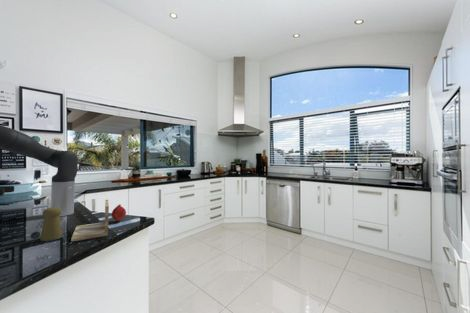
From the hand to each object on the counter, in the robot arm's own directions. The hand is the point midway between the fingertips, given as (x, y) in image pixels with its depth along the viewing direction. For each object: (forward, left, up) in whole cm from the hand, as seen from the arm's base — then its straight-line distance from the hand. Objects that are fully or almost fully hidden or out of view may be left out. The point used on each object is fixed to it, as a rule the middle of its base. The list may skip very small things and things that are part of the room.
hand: (9, 190), depth 68 cm
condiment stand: (0, +23, -18) cm, 29 cm away
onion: (-10, +33, -18) cm, 39 cm away
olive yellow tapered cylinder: (0, +11, -18) cm, 22 cm away
